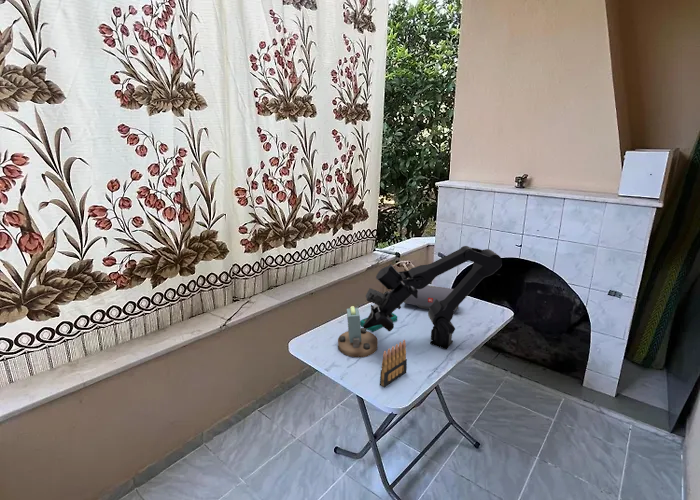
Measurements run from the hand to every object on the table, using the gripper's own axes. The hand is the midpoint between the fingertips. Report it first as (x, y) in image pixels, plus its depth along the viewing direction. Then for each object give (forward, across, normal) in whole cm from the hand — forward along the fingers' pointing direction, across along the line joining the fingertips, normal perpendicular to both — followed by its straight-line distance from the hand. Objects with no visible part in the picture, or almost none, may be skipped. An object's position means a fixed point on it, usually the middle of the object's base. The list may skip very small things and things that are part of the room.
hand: (363, 327), depth 132 cm
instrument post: (+6, 0, +1) cm, 6 cm away
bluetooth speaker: (-17, -28, +28) cm, 43 cm away
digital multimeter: (0, -16, +11) cm, 20 cm away
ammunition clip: (0, +19, +10) cm, 22 cm away
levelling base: (+7, 0, +3) cm, 8 cm away
